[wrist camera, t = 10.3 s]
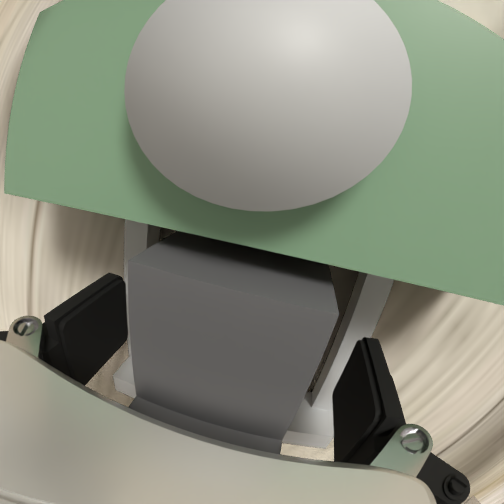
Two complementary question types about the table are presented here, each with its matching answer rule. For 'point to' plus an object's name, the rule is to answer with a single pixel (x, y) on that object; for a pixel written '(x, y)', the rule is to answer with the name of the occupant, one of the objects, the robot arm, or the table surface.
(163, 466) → the robot arm
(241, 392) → the grey block
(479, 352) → the table surface
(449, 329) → the table surface
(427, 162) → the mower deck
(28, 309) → the table surface
